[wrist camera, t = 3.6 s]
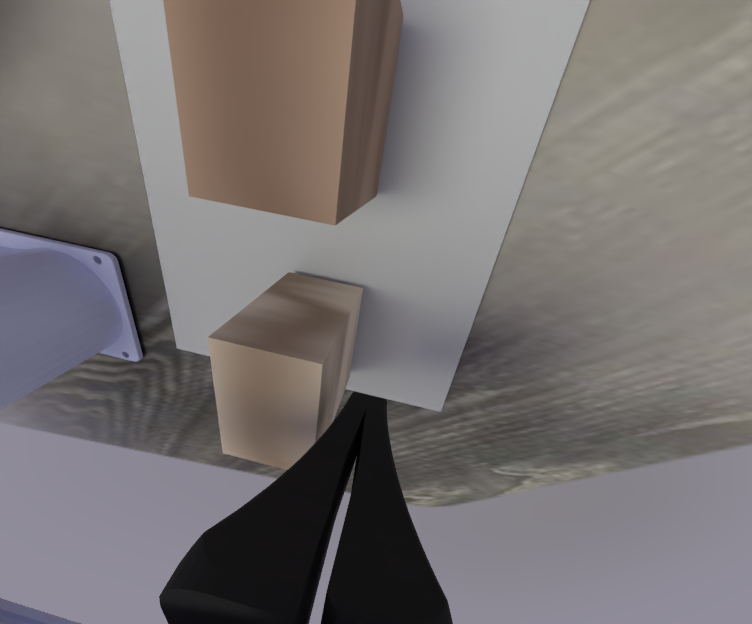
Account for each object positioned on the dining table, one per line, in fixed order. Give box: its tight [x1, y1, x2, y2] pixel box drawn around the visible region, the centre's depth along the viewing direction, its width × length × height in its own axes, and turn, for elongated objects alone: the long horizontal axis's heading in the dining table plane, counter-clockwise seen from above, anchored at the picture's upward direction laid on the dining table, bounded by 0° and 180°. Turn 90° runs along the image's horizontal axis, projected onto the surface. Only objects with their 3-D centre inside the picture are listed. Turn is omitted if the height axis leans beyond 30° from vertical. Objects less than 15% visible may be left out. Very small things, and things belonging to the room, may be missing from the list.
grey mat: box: [110, 0, 590, 412], centre depth 15 cm, size 18×21×1 cm
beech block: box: [208, 272, 363, 470], centre depth 14 cm, size 4×6×7 cm, turn 171°
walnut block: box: [163, 0, 404, 226], centre depth 9 cm, size 4×6×7 cm, turn 171°
